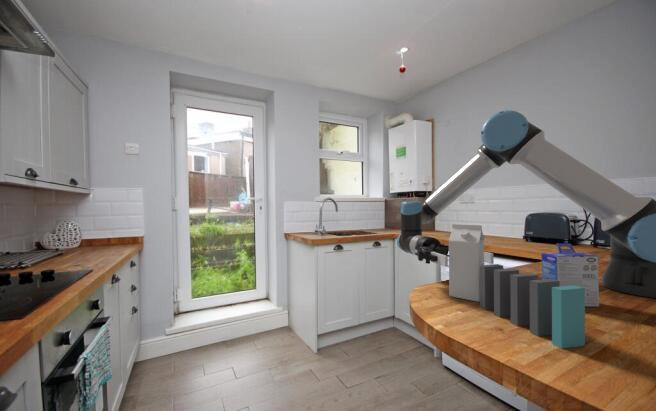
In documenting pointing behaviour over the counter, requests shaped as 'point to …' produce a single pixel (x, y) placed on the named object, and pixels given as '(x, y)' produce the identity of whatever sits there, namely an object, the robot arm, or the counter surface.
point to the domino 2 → (502, 291)
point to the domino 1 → (487, 285)
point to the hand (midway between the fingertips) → (469, 260)
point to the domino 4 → (541, 306)
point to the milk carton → (465, 261)
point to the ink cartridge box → (573, 271)
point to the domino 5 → (568, 316)
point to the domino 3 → (521, 298)
